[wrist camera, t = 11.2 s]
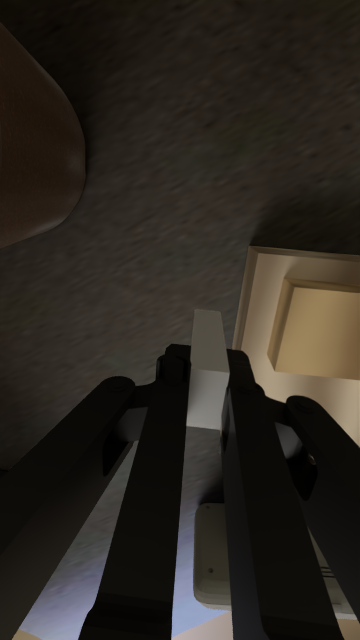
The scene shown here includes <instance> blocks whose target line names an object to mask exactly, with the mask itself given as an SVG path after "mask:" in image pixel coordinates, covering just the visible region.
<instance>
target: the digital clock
mask: <svg viewBox="0 0 360 640" xmlns="http://www.w3.org/2000/svg"><path fill="white" fill-rule="evenodd" d="M308 531H309V534H310V537H311V540H312V543H313V546H314V550H315V553H316V556H317V559H318V562H319V565H320V568H321V572H322V575H323V578H324V581H325V584H326V587H327V591H328V594H329V597H330V600H331V603H332V606H333V609H334V613H335V616H336V618H340V619H356V620H358V619H357V618H356V616H355V614H354V612H353V610H352V608H351V606H350V605H349V603H348V601H347V599H346V597H345V595H344V593H343V592H342V590H341V588H340V586H339V584H338V582H337V580H336V579H335V577H334V575H333V573H332V571H331V569H330V567H329V566H328V564H327V562H326V560H325V558H324V556H323V554H322V553H321V551H320V549H319V547H318V545H317V543H316V541H315V540H314V538H313V536H312V534H311V532H310V530H309V528H308ZM193 590H194V596H195V598H196V600H197V601H198V602H200V603H201V604H202V605H203V606H205V607H207V608H210V609H218V610H228V611H232V609H231V594H230V579H229V564H228V548H227V533H226V518H225V503H204V504H202V505H200V506H199V507H198V508H197V510H196V513H195V526H194V569H193Z"/></svg>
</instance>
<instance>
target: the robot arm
mask: <svg viewBox="0 0 360 640" xmlns="http://www.w3.org/2000/svg"><path fill="white" fill-rule="evenodd" d="M221 421H222V433H221V438H220V444H219V450H218V454H221V457H222V472H223V487H224V503H225V518H226V533H227V548H228V564H229V579H230V594H231V609H232V623H233V624H232V625H233V640H344V638H343V636H342V633H341V631H340V628H339V625H338V622H337V619H336V616H335V613H334V609H333V606H332V603H331V600H330V597H329V594H328V591H327V587H326V584H325V581H324V578H323V575H322V572H321V568H320V565H319V562H318V559H317V556H316V553H315V550H314V546H313V543H312V540H311V537H310V534H309V531H308V528H309V530H310V532H311V534H312V536H313V538H314V540H315V541H316V543H317V545H318V547H319V549H320V551H321V553H322V554H323V556H324V558H325V560H326V562H327V564H328V566H329V567H330V569H331V571H332V573H333V575H334V577H335V579H336V580H337V582H338V584H339V586H340V588H341V590H342V592H343V593H344V595H345V597H346V599H347V601H348V603H349V605H350V606H351V608H352V610H353V612H354V614H355V616H356V618H357V619H358V621H359V623H360V447H359V446H358V445H357V444H356V443H355V442H354V440H353V439H352V438H351V437H350V436H349V435H348V434H347V433H346V432H345V431H344V430H343V429H342V427H341V426H340V425H339V424H338V423H337V422H336V421H335V420H334V419H333V418H332V417H331V415H330V414H329V413H328V412H327V411H326V410H325V409H324V408H323V407H322V406H321V405H320V404H319V403H318V402H316V401H315V400H313V399H311V398H309V397H305V396H300V395H293V396H290V397H288V398H287V399H286V403H284V402H281V401H277V400H274V399H272V398H269V397H268V396H266V395H265V392H264V390H263V388H262V387H261V386H260V385H259V384H257V383H256V381H255V378H254V374H253V371H252V368H251V364H250V361H249V357H248V355H247V354H246V353H245V352H244V351H242V350H233V349H226V345H225V338H224V332H223V325H222V319H221V312H220V311H211V310H201V309H195V313H194V322H193V332H192V341H191V346H189V345H179V344H171V345H169V346H168V347H167V348H166V351H165V355H162V356H160V357H159V358H158V359H157V365H156V380H155V381H154V382H152V383H150V384H147V385H142V386H135V382H133V381H132V380H131V379H130V378H127V377H123V376H114V377H110V378H107V379H105V380H104V381H102V382H101V383H100V384H99V385H98V386H97V387H96V388H95V389H94V390H93V391H92V392H90V393H89V394H88V395H87V396H86V397H85V398H84V399H83V400H82V401H81V402H80V403H79V404H78V405H77V406H76V407H75V408H74V409H73V410H72V411H71V412H70V413H69V414H68V415H67V416H66V417H65V418H64V419H62V420H61V421H60V422H59V423H58V424H57V425H56V426H55V427H54V428H53V429H52V430H51V431H50V432H49V433H48V434H47V435H46V436H45V437H44V438H43V439H42V440H41V441H40V442H39V443H38V444H37V445H36V446H34V447H33V448H32V449H31V450H30V451H29V452H28V453H27V454H26V455H25V456H24V457H23V458H22V459H21V460H20V461H19V462H18V463H17V464H16V465H15V466H14V467H13V468H12V469H11V470H10V471H9V472H6V471H1V470H0V640H12V638H13V636H14V635H15V633H16V632H17V630H18V629H19V627H20V625H21V624H22V622H23V621H24V619H25V617H26V616H27V614H28V613H29V611H30V609H31V608H32V606H33V605H34V603H35V601H36V600H37V598H38V597H39V595H40V593H41V592H42V590H43V588H44V587H45V585H46V584H47V582H48V580H49V579H50V577H51V576H52V574H53V572H54V571H55V569H56V568H57V566H58V564H59V563H60V561H61V560H62V558H63V556H64V555H65V553H66V552H67V550H68V548H69V547H70V545H71V544H72V542H73V540H74V539H75V537H76V536H77V534H78V532H79V531H80V529H81V528H82V526H83V524H84V523H85V521H86V520H87V518H88V516H89V515H90V513H91V512H92V510H93V508H94V507H95V505H96V504H97V502H98V500H99V499H100V497H101V496H102V494H103V492H104V491H105V489H106V488H107V486H108V484H109V483H110V481H111V480H112V478H113V476H114V475H115V473H116V471H117V470H118V468H119V467H120V465H121V463H122V462H123V460H124V459H125V457H126V455H127V454H128V452H129V451H130V449H131V447H132V446H133V443H134V441H137V440H139V442H138V446H137V450H136V453H135V457H134V461H133V465H132V468H131V472H130V476H129V479H128V483H127V487H126V490H125V494H124V498H123V501H122V505H121V509H120V512H119V516H118V520H117V524H116V527H115V531H114V535H113V538H112V542H111V546H110V549H109V553H108V557H107V560H106V564H105V568H104V571H103V575H102V579H101V583H100V586H99V590H98V593H97V597H96V600H95V603H94V605H93V607H92V609H91V610H90V611H89V612H88V614H87V616H86V618H85V621H84V623H83V626H82V629H81V632H80V635H79V638H78V640H171V633H172V609H173V595H174V582H175V569H176V556H177V542H178V529H179V516H180V503H181V490H182V477H183V463H184V450H185V437H186V426H193V427H202V428H210V429H218V430H220V427H221ZM311 456H312V457H311ZM313 459H314V460H313Z"/></svg>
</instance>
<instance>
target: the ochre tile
mask: <svg viewBox="0 0 360 640" xmlns="http://www.w3.org/2000/svg"><path fill="white" fill-rule="evenodd" d="M267 356H268V358H269V360H270V363H271V365H272V367H273V369H274V371H275V372H283V373H293V374H302V375H312V376H322V377H331V378H341V379H351V380H360V285H356V284H345V283H334V282H324V281H313V280H302V279H291V278H283V282H282V287H281V291H280V296H279V300H278V305H277V310H276V314H275V319H274V323H273V328H272V332H271V337H270V341H269V346H268V351H267Z"/></svg>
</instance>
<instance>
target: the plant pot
mask: <svg viewBox="0 0 360 640" xmlns="http://www.w3.org/2000/svg"><path fill="white" fill-rule="evenodd" d="M85 179H86V172H85V139H84V135H83V132H82V128H81V125H80V122H79V120H78V117H77V115H76V113H75V111H74V109H73V107H72V105H71V103H70V102H69V100H68V98H67V96H66V95H65V94H64V92H63V91H62V89H61V88H60V87H59V85H58V84H57V83H56V82H55V80H54V79H53V78H52V77H51V76H50V75H49V74H48V73H47V72H46V71H45V70H44V69H43V67H42V66H41V65H40V64H39V63H38V62H37V61H36V60H35V59H34V58H33V57H32V56H31V55H30V54H29V53H28V52H27V50H26V49H25V48H24V47H23V46H22V45H21V44H20V43H19V42H18V41H17V39H16V38H15V37H14V36H13V35H12V34H11V33H10V32H9V31H8V30H7V29H6V28H5V26H4V25H3V24H2V23H1V22H0V249H1V248H4V247H6V246H9V245H12V244H14V243H17V242H20V241H22V240H25V239H27V238H30V237H32V236H35V235H38V234H42V233H45V232H47V231H49V230H51V229H53V228H55V227H56V226H57V225H59V224H60V223H61V222H62V221H64V220H65V219H66V218H67V217H68V215H69V214H70V213H71V212H72V211H73V209H74V208H75V206H76V204H77V203H78V201H79V199H80V197H81V194H82V191H83V188H84V184H85Z"/></svg>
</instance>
